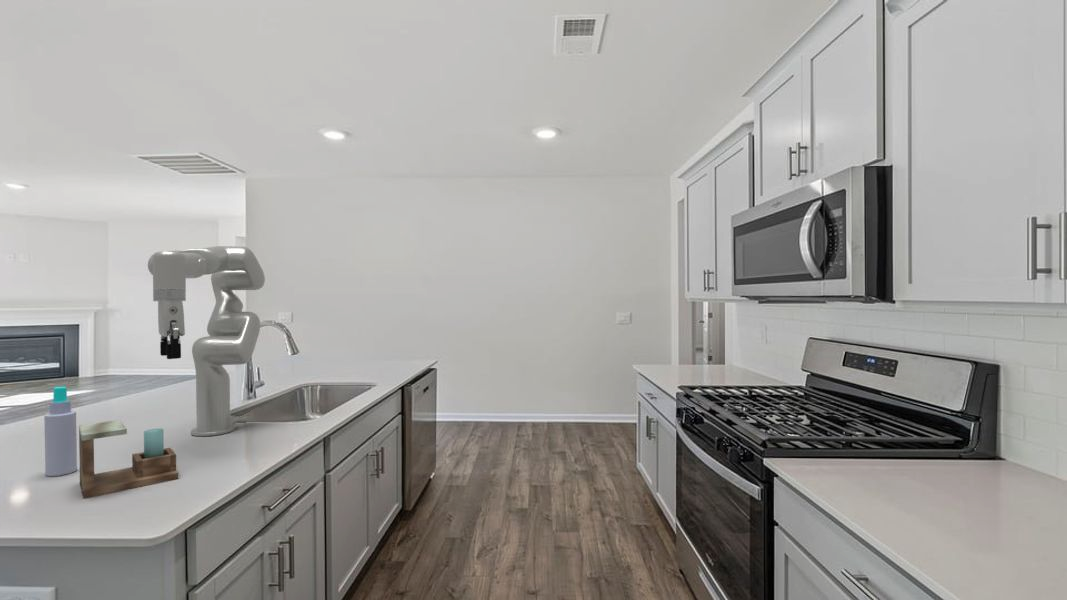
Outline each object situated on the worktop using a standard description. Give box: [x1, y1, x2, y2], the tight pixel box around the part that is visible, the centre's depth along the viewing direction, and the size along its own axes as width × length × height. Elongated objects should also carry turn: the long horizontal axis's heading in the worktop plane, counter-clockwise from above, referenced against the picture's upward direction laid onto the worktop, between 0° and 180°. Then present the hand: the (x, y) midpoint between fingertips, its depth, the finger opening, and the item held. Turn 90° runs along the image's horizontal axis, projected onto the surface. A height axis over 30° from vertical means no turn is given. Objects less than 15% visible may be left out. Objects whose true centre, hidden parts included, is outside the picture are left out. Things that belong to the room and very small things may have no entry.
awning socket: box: [78, 419, 179, 499], centre depth 129 cm, size 18×13×14 cm
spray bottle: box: [44, 386, 78, 477], centre depth 134 cm, size 6×6×22 cm
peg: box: [143, 428, 165, 459], centre depth 132 cm, size 4×4×10 cm
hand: (170, 356), depth 147 cm, fingers open, 9 cm apart
